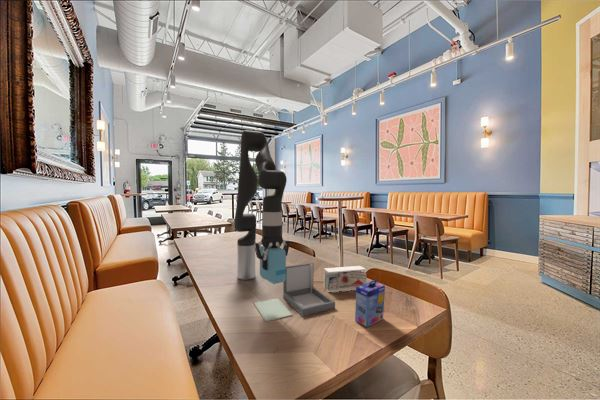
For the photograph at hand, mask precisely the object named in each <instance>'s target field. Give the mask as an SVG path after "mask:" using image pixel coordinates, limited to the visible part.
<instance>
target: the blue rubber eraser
mask: <svg viewBox="0 0 600 400" xmlns="http://www.w3.org/2000/svg"><path fill="white" fill-rule="evenodd" d="M263 250H264V246H263V245H261V248H260V252H261V255H262V254H263ZM265 251H266V249H265ZM266 260H267V270H264V269H263V268H262V259H259V275H260V277H261V278H263V279H264V280H266V281H268V282H270V283H271V284H273V285H276V284H281V283H283V282H284V281H285V280H286V266H287V256H286V252H285V250H284V249H283V248H282V247H280V248H271V249H269V254H268V256H267V259H266Z"/></svg>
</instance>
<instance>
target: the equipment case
mask: <svg viewBox="0 0 600 400" xmlns="http://www.w3.org/2000/svg"><path fill="white" fill-rule="evenodd" d="M314 266H315V265H314V262H308V263H301V264H294V265H286V280H285V281H284V282H282V283H283V284H282V286H283V288H282V289H283V293H282V294H283V295H282V297H283V299H284V300H285V301H287V302H288V303H289V305H291V307H292V308H294V310H296V312H297V313H298V314H300V315H301V317H304V316H308V315H309V316H310V315H313V314H317V313H321V312H325V311H330V310H334V309H336V302H335V301H334V299H332V298H330V297H329V296H327V295H326V294H324V293H323V292H321V291H320V290H319V289H317V288H316V287H314Z"/></svg>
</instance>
